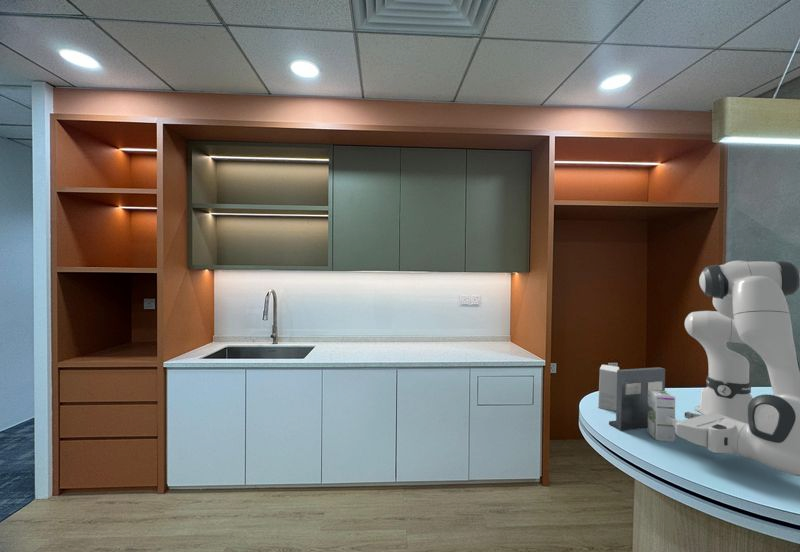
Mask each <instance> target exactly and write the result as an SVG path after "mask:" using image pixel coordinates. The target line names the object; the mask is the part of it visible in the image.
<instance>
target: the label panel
mask: <svg viewBox="0 0 800 552" xmlns="http://www.w3.org/2000/svg"><path fill="white" fill-rule="evenodd" d="M665 389H666V368H663V367H660V366H659V367H658V366H657V367H645V368H644V367H642V368H629V369H628V368H627V369H624V368H623V369H619V370H617V404H616V411H615V412H616V413H615V420H609V421H608V425H609V426H611V427H612V428H615V429H616V430H618V431H620V432H623V431H624V432H625V431H631V430H632V431H633V430H642V429H643V428H644V429H648V390H662V391H666V390H665ZM644 429H643V430H644Z"/></svg>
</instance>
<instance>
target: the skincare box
mask: <svg viewBox="0 0 800 552" xmlns="http://www.w3.org/2000/svg"><path fill="white" fill-rule="evenodd" d="M617 370H620V367H619V366H615V365H610V364H601V366H600V367H599V378H598V379H599V382H598V404H597V405H598V406H597V407H598V409H603V410H608V411H613V412H616V404H617Z"/></svg>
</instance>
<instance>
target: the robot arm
mask: <svg viewBox="0 0 800 552" xmlns="http://www.w3.org/2000/svg"><path fill="white" fill-rule="evenodd" d="M698 279H699V280H698V281H699V283H698V284H699V287H700V289H701V290H702V292H703V295H706V296H707V297H710V298H712V305H713V307H714V309H715V311H714V310H698V311H692V312H691V311H690V313H688V315H687V316H686V317H685V320H684V328H685V331H686V332H687V334H688V335H689V336H690V337H691V338H693V339H695V340H696V341H697V342H698V343H699V344H700V345H701V346H702V347H703V349H704V351H705V354H706V356H707V364H708V375H707V376H706V380H705V381H706V387H704V388H703V389H701V393H700V404H699V405H696V406H695V407H694V410H695V411H697V412H699V413H697V412H696V413H695V412H691V411H686V412H684V418H685V419H683V420H678V419H676V417H675V418H674V417H671V416H670V417H666V422H667V423H669V424H672V425H673V426H674V427H675V435H676V436H678V437H679V438H681V439H684V440H686V441H688V442H690V443H693V444H695V445H698V446H701V447H704V448H707V450H708V451H710V452H712V453H715V454H731V455H737V456H739V457H742V458H746V459H752V460H754V461H757V462H759V463H760V464H762V465H763V466H766V467H769V468H771V469H773V470H777V471H779V472H783V473H786V474H789V475H793V476H797V477H800V363H799V360H798V359H799V358H798V355H797V352H796V345H795V341H794V333H793V332H794V331H793V325H792V320H791V319H792V318H791V315H790V309H789V306H788V301H787V299H786V296H790V295H794V294H795V293H796V292H797V291H799V288H800V272H799V270H798V268H797V266H796V265H795V264H793V263H792V262H789V261H784V260H783V261H781V260H774V261H761V260H760V261H757V260H755V261H746V260H733V261H732V260H731V261H728V262H726V263H724V264H720V265H719V264H713V265H709V266H705V267H704V268H703V269H702V270H701V273H700V275H699V278H698ZM727 343H734V344H735V343H736V344H737V343H738V344H745V345H747V346H748V347H749V348H751V349H752V350H753V351H754V352H755V353H757V354H758V356H759V357H760V358H761V360H763V362H764V364H765V367H766V369H767V373H768V377H769V381H770V385H771V389H772V394H766V393H765V394H760V395H756V396H755V397H753V396H752V395H751V393H752V385H751V382H750V362H749V359H747V357H746V356H744V355H742V354H741V353H739V352H736V351H734V350H732V349H730V348H729V347H728V346H727Z"/></svg>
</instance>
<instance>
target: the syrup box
mask: <svg viewBox="0 0 800 552" xmlns="http://www.w3.org/2000/svg"><path fill="white" fill-rule="evenodd" d="M670 416H671V417H674V418H675V419H676V396H674V395H673V394H671V393H669V392H668V391H666V390H665V391H662V390H648V428H647V434H649V435H650V436H651V437H652V438H653V439H654V440H656V441H660V442H661V441H662V442H670V443H672V442H673V443H674V442H676V433H675V427H674V426H673V425H672V424H669V423H667V422H666V417H670Z"/></svg>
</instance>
